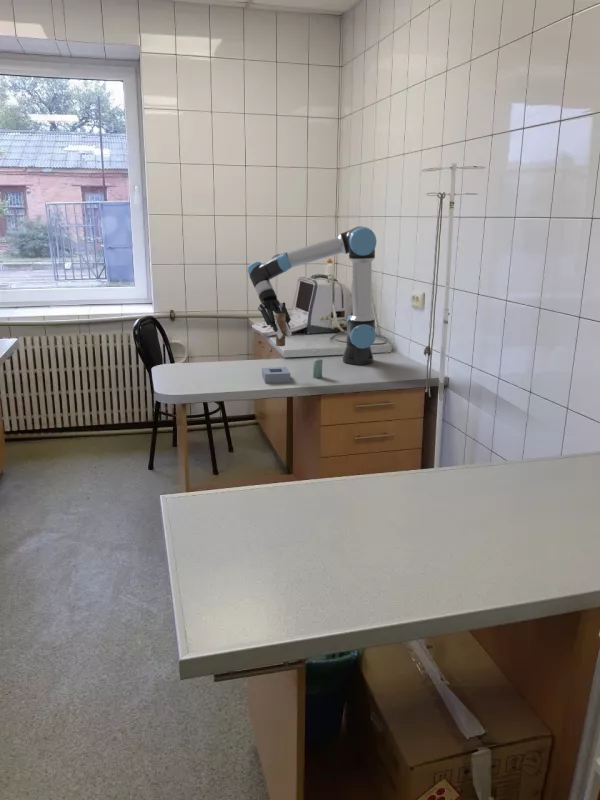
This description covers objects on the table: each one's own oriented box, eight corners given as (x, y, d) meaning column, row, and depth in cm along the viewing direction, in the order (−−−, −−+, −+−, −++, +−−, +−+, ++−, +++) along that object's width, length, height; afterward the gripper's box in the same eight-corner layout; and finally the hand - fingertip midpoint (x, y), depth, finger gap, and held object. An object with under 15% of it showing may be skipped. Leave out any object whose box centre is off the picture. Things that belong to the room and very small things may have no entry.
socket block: (286, 375, 280) (286, 366, 279) (290, 382, 270) (290, 373, 269) (262, 376, 278) (262, 367, 277) (265, 383, 268) (265, 374, 267)
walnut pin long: (284, 344, 276) (285, 313, 272) (285, 346, 273) (286, 314, 268) (275, 344, 276) (276, 313, 271) (276, 346, 272) (277, 314, 268)
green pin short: (321, 375, 280) (321, 358, 278) (322, 378, 277) (323, 360, 274) (312, 376, 280) (312, 358, 277) (314, 378, 276) (314, 361, 273)
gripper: (278, 297, 285) (298, 339, 277) (246, 299, 276) (265, 343, 268) (285, 287, 279) (305, 329, 271) (252, 289, 270) (272, 333, 262)
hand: (285, 336), depth 270 cm, fingers closed on walnut pin long, 4 cm apart
